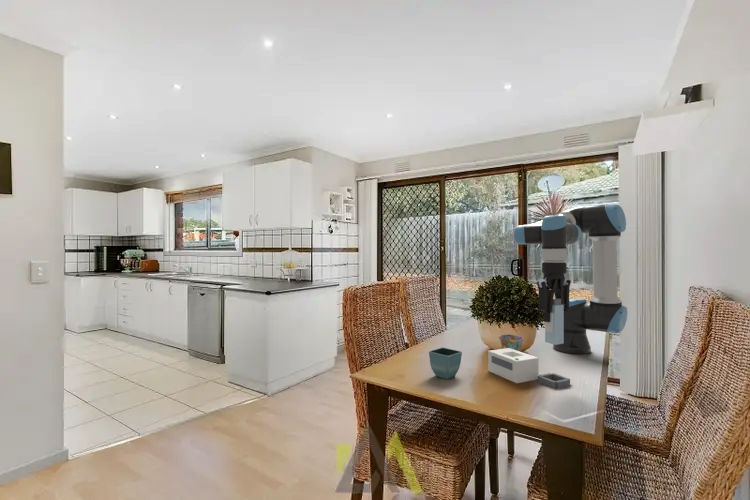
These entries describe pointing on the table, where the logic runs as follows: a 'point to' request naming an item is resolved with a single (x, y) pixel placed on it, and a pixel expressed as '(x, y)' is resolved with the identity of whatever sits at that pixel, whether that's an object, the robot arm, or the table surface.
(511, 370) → the port panel
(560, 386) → the holster
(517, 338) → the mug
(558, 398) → the table surface
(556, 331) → the plug
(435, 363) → the flower pot
